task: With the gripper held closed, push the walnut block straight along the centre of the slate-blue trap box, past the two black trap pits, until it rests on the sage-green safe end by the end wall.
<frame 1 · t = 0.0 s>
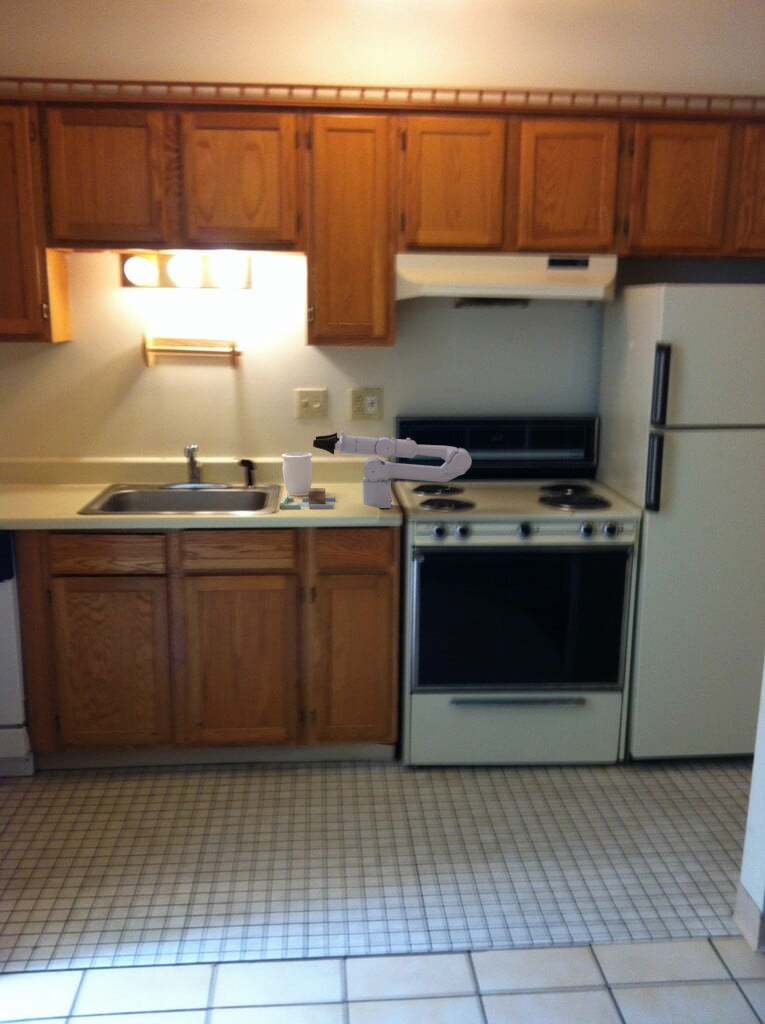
hand: (314, 441, 275), 22 cm above the countertop, tool horizontal, fingers open, 7 cm apart
jar: (298, 497, 296), on the countertop
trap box: (308, 508, 278), on the countertop
walnut block: (317, 504, 277), point 1 cm above the countertop, touching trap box
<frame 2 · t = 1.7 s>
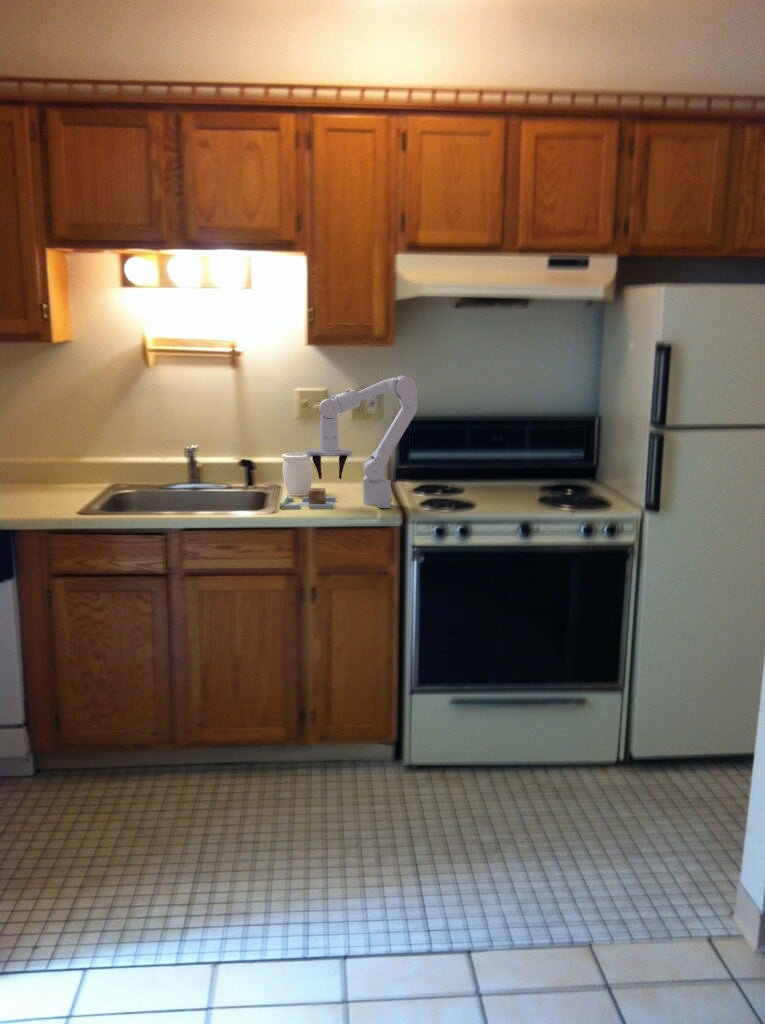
hand: (330, 478, 275), 10 cm above the countertop, tool pointing down, fingers open, 6 cm apart
nothing on the countertop moved.
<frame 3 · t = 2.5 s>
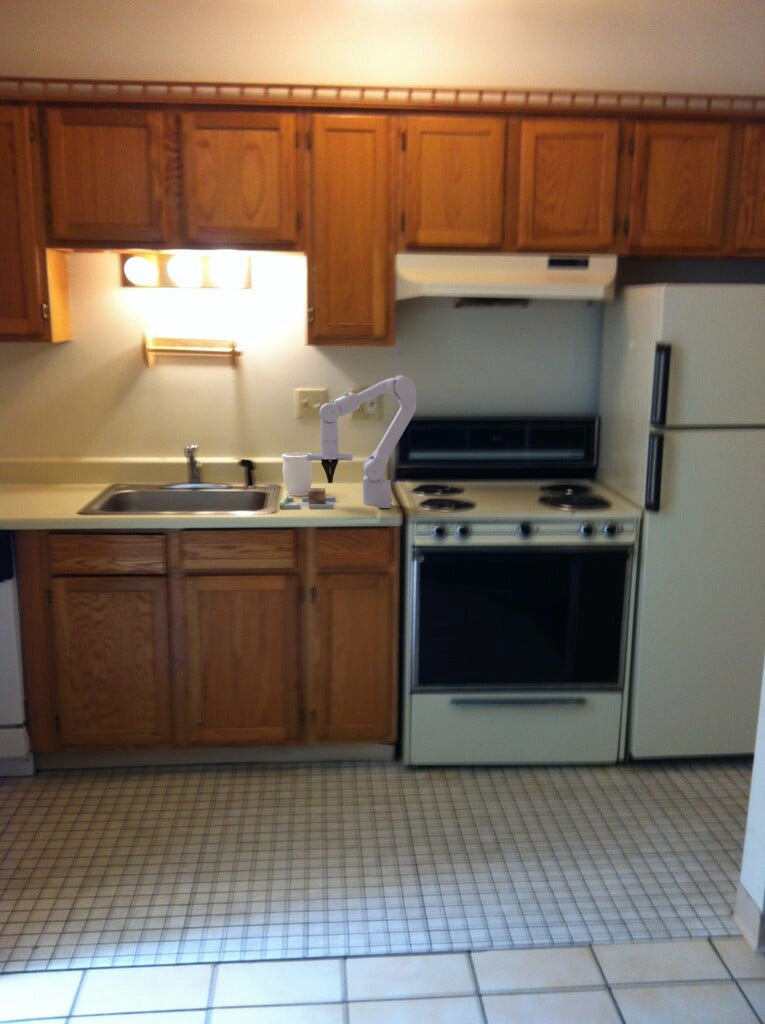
hand: (330, 482, 276), 9 cm above the countertop, tool pointing down, fingers closed
nothing on the countertop moved.
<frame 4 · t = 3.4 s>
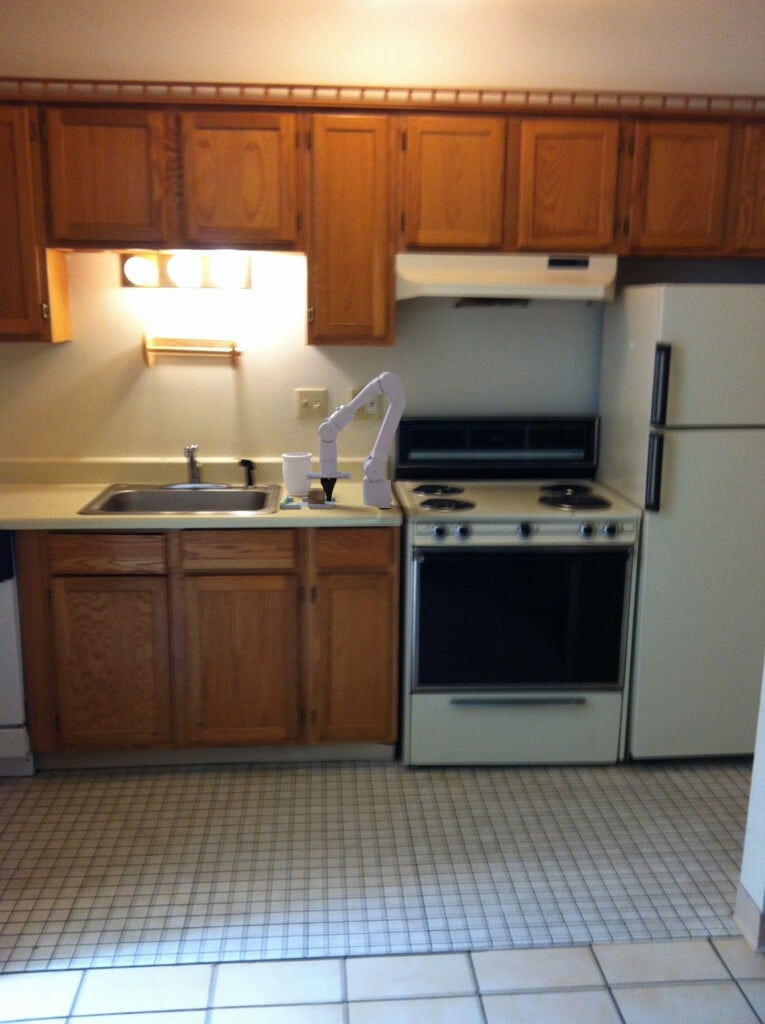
hand: (329, 501, 277), 2 cm above the countertop, tool pointing down, fingers closed
walnut block: (316, 504, 277), point 1 cm above the countertop, touching gripper
everything else where it was.
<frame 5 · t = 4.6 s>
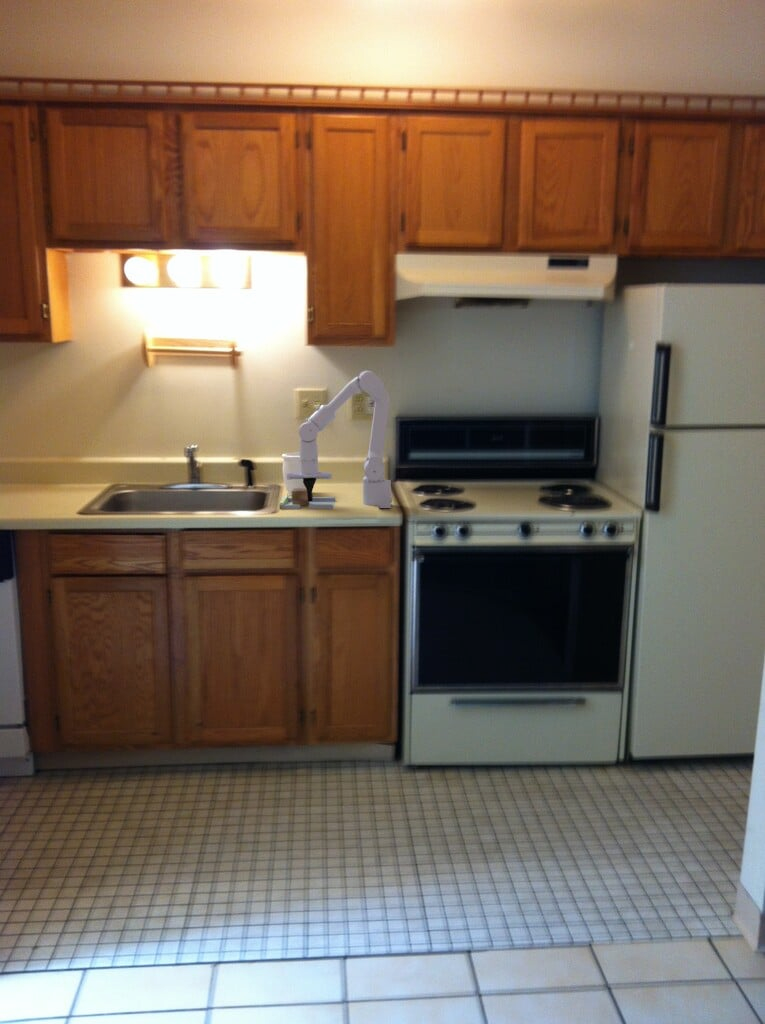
hand: (310, 500, 277), 2 cm above the countertop, tool pointing down, fingers closed, pressing on walnut block
walnut block: (301, 504, 277), point 1 cm above the countertop, touching gripper, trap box
everything else where it was.
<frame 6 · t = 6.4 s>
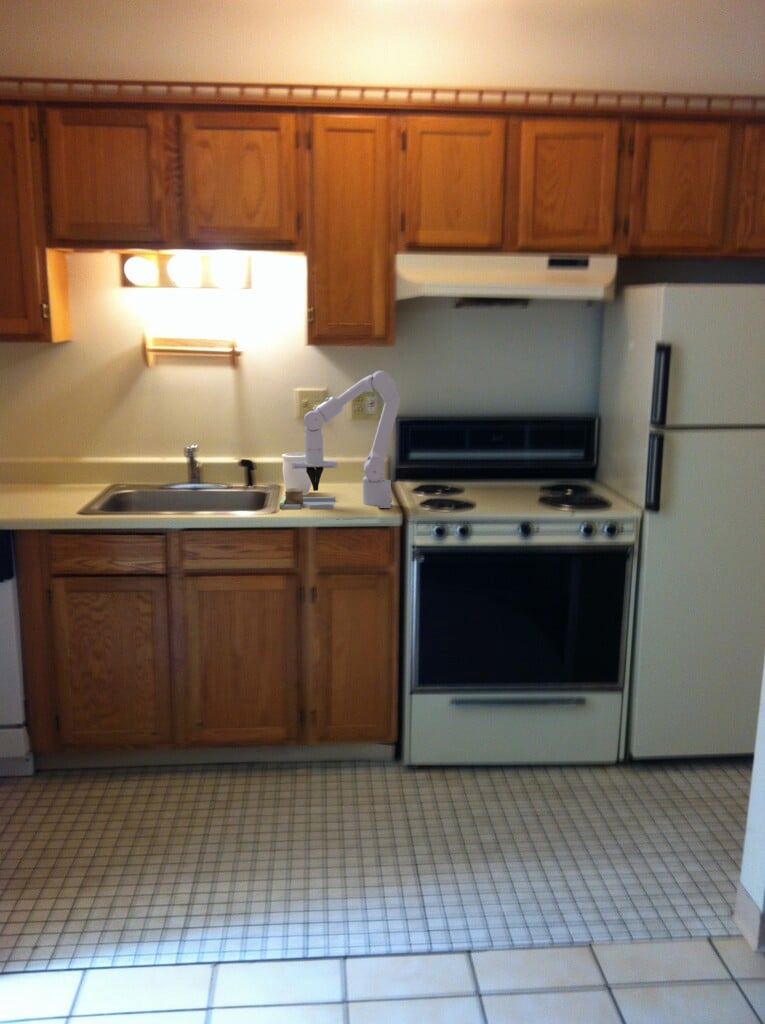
hand: (315, 490, 276), 6 cm above the countertop, tool pointing down, fingers closed
walnut block: (294, 504, 277), point 1 cm above the countertop, touching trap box
everything else where it was.
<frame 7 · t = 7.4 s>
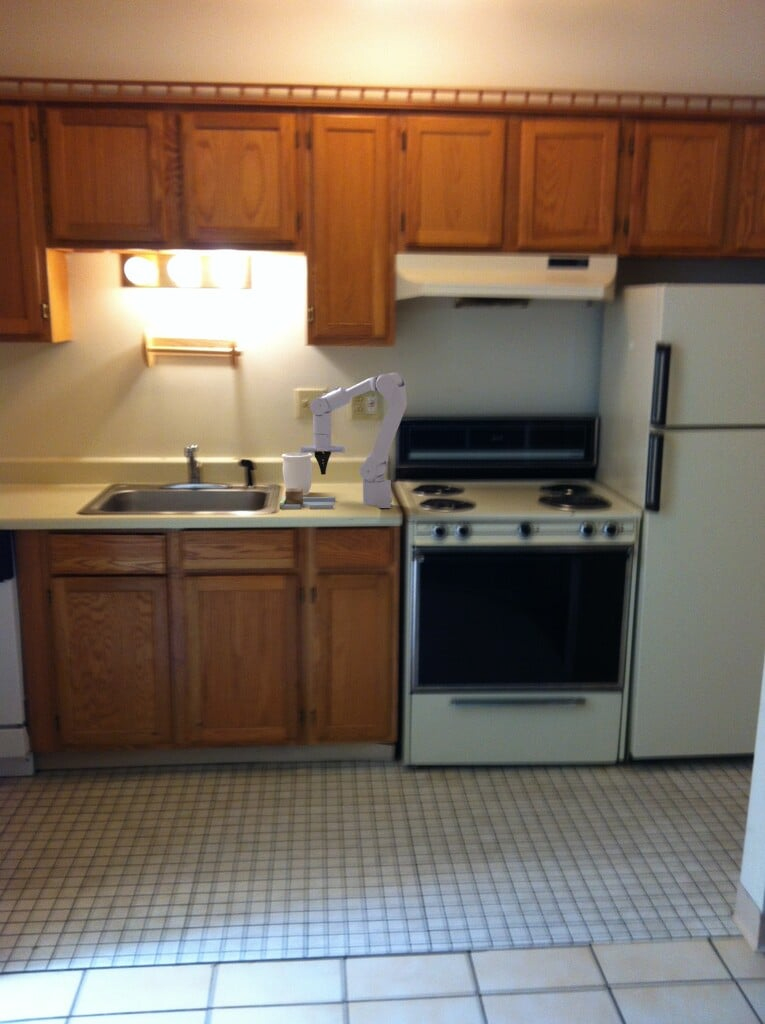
hand: (323, 474, 283), 10 cm above the countertop, tool pointing down, fingers closed
nothing on the countertop moved.
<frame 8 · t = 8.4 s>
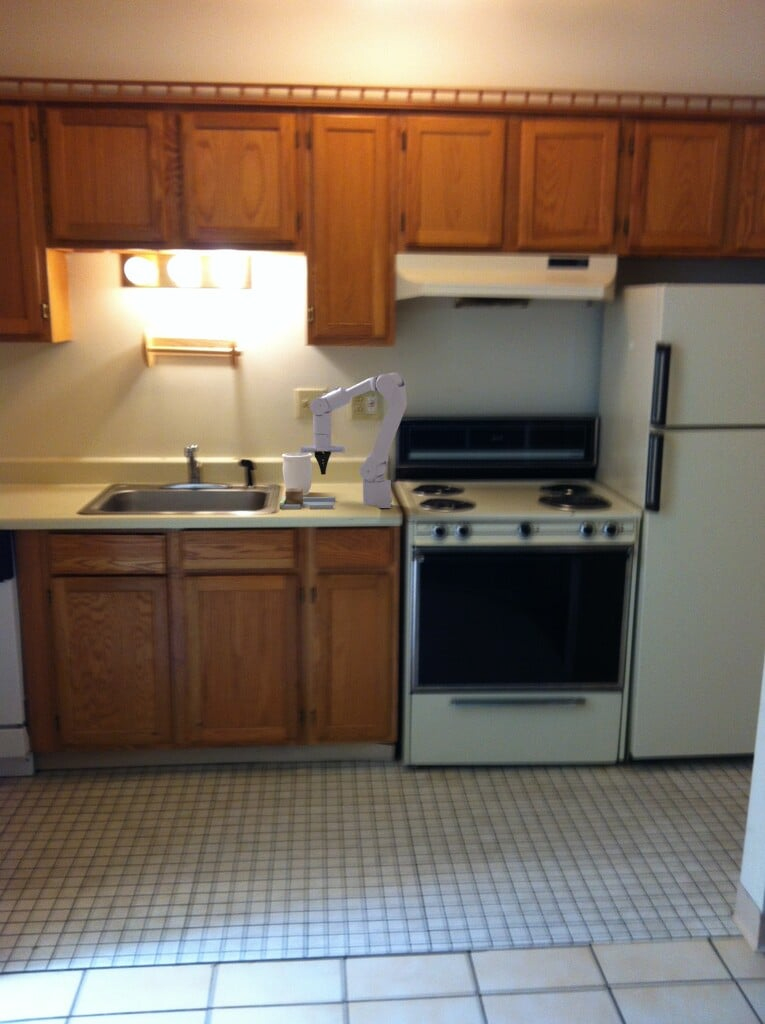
hand: (323, 474, 283), 10 cm above the countertop, tool pointing down, fingers closed
nothing on the countertop moved.
at the end: walnut block 0.4 cm from the target spot on the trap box, point 1.2 cm above the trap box's base; walnut block tilted 1° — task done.
